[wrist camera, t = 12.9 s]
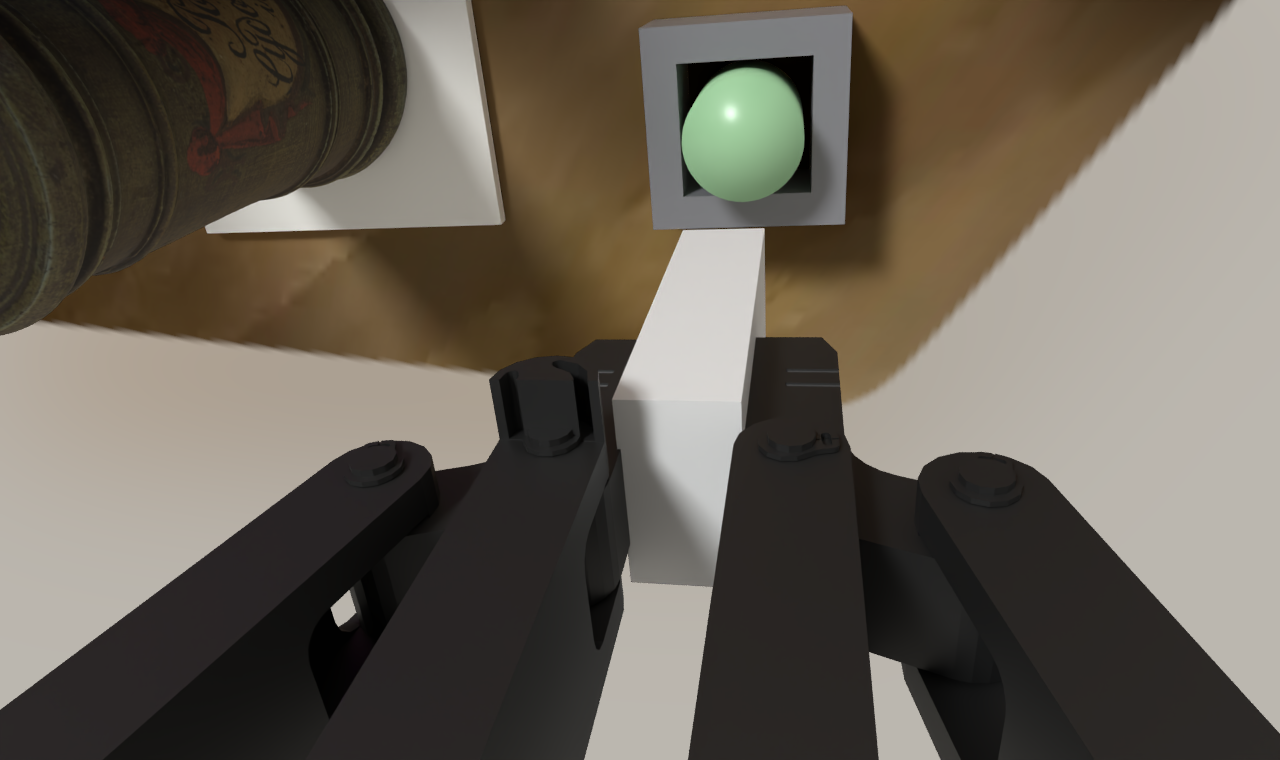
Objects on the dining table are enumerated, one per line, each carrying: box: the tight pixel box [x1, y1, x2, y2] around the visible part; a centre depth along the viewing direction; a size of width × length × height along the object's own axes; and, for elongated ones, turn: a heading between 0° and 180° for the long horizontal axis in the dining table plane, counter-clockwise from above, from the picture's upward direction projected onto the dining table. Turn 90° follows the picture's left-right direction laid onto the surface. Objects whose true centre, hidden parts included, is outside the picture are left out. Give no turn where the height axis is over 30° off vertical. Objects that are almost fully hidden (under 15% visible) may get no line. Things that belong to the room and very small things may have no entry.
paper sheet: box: [205, 0, 506, 234], centre depth 33 cm, size 14×14×1 cm
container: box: [0, 0, 407, 335], centre depth 25 cm, size 9×9×18 cm
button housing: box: [639, 6, 852, 230], centre depth 30 cm, size 7×7×4 cm
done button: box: [682, 60, 804, 202], centre depth 29 cm, size 4×4×4 cm
